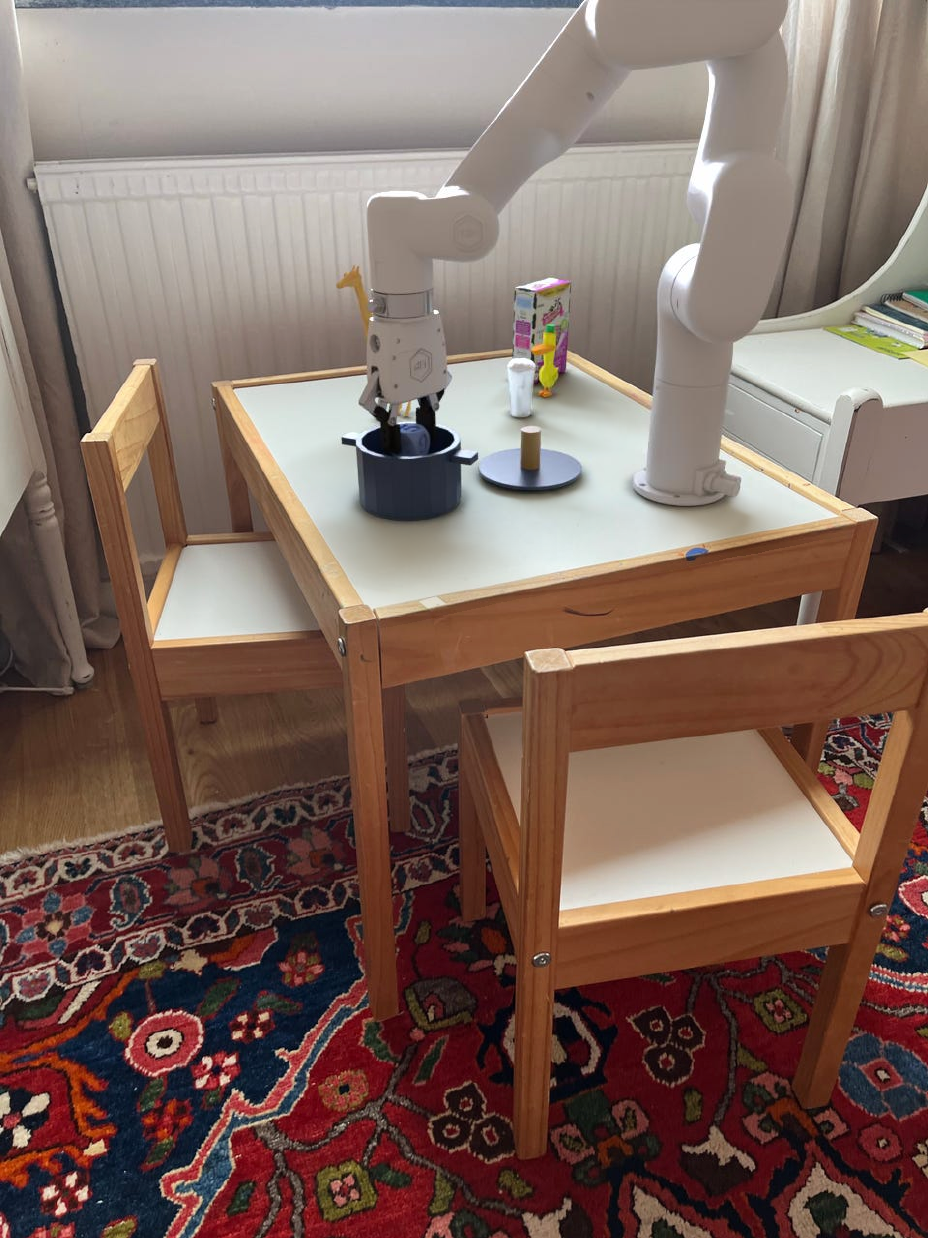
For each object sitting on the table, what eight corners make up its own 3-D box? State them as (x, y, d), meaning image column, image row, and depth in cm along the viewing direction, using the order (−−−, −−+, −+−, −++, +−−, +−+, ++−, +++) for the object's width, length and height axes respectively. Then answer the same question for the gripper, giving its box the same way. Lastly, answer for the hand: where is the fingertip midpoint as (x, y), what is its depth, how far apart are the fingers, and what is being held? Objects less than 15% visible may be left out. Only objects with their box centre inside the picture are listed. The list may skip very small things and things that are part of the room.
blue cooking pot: (452, 531, 122) (451, 468, 117) (323, 506, 129) (318, 446, 124) (495, 492, 132) (495, 432, 128) (374, 470, 139) (370, 413, 135)
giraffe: (359, 438, 151) (347, 271, 138) (339, 432, 153) (325, 267, 140) (427, 410, 161) (423, 253, 149) (408, 405, 164) (401, 250, 151)
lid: (560, 501, 129) (562, 454, 126) (461, 484, 135) (461, 438, 131) (594, 463, 141) (597, 419, 137) (502, 449, 146) (503, 406, 143)
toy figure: (538, 401, 165) (540, 330, 159) (523, 397, 167) (525, 326, 161) (565, 393, 169) (568, 323, 163) (550, 388, 171) (552, 319, 165)
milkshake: (537, 419, 157) (538, 358, 152) (504, 418, 158) (505, 357, 153) (540, 410, 161) (542, 350, 156) (509, 409, 162) (509, 349, 157)
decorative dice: (404, 449, 130) (403, 421, 128) (430, 454, 128) (430, 425, 126) (389, 459, 127) (388, 430, 125) (416, 464, 125) (415, 435, 123)
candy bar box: (533, 385, 173) (535, 291, 164) (510, 380, 175) (512, 287, 167) (568, 371, 180) (572, 279, 172) (546, 366, 183) (549, 276, 174)
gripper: (368, 321, 110) (378, 471, 119) (474, 296, 120) (475, 435, 129) (327, 311, 114) (340, 455, 124) (432, 287, 125) (436, 422, 134)
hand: (409, 443), depth 126 cm, fingers open, 5 cm apart
